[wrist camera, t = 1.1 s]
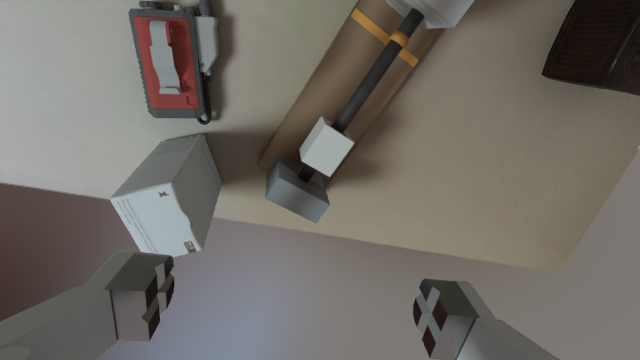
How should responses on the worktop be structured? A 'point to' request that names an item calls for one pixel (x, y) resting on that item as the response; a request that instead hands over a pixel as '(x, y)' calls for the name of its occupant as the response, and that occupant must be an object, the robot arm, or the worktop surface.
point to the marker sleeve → (325, 147)
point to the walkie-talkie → (176, 58)
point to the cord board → (351, 90)
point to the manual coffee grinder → (598, 46)
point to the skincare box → (171, 197)
